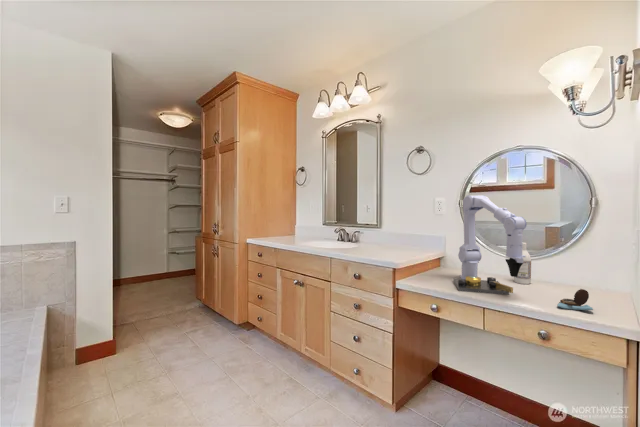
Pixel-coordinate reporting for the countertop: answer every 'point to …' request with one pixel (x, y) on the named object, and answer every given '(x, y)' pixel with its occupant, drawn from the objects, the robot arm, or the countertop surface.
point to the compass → (577, 298)
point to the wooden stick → (501, 286)
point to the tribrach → (477, 285)
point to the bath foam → (524, 268)
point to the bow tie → (574, 307)
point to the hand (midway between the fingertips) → (513, 276)
